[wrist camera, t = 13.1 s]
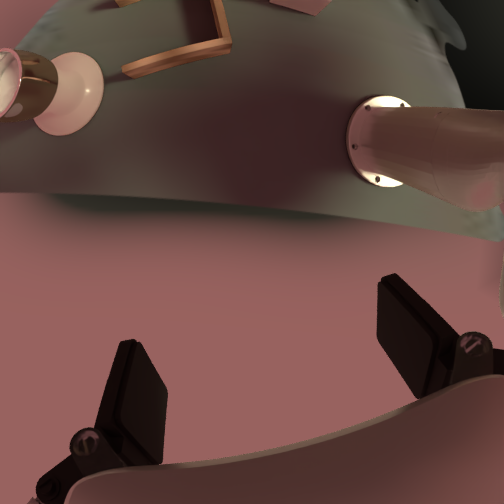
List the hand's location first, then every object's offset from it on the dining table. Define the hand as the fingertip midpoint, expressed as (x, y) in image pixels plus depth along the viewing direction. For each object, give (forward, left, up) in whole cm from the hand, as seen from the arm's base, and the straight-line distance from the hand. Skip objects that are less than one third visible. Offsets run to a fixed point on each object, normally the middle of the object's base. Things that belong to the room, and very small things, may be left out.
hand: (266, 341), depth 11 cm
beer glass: (+17, -18, -28) cm, 37 cm away
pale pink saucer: (+17, -18, -28) cm, 38 cm away
